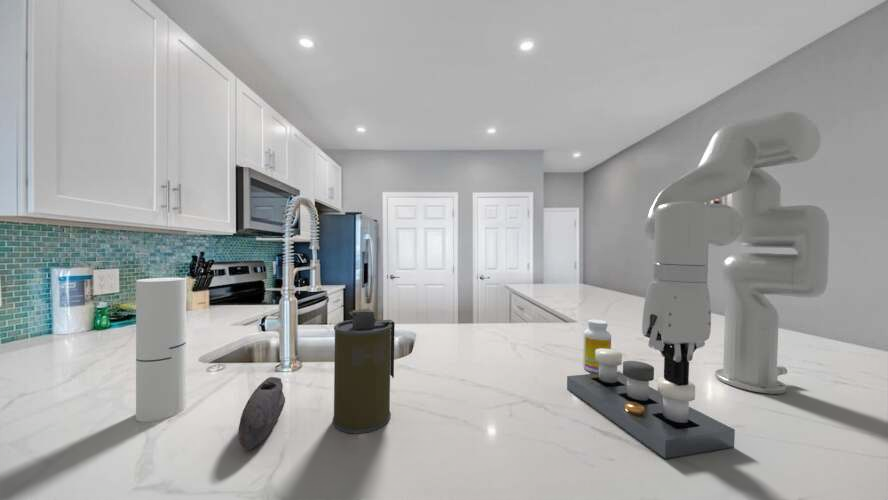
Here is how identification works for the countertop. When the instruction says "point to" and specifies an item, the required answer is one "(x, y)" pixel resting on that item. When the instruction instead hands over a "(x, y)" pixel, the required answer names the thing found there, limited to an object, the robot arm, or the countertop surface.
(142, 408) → the cylindrical container
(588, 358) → the supplement bottle
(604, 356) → the knob
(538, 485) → the countertop surface
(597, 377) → the panel
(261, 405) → the perforated stone tool
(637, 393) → the knob middle
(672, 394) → the knob
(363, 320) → the canister
